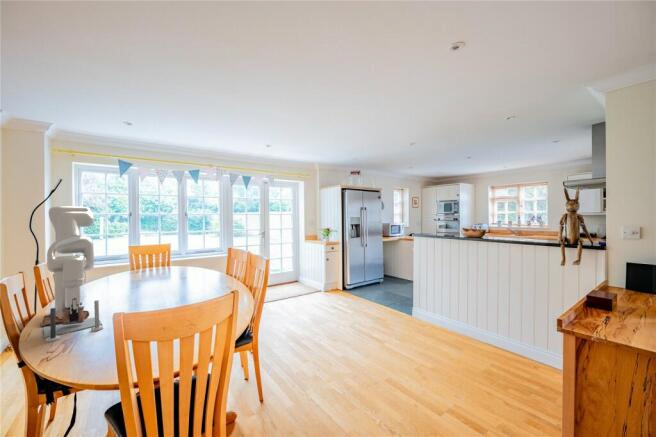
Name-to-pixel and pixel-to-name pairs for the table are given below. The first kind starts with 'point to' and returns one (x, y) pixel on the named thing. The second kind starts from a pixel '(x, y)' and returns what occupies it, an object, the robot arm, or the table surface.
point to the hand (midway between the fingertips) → (73, 319)
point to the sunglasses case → (58, 319)
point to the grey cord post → (96, 317)
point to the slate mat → (71, 327)
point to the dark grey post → (52, 326)
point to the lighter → (67, 311)
